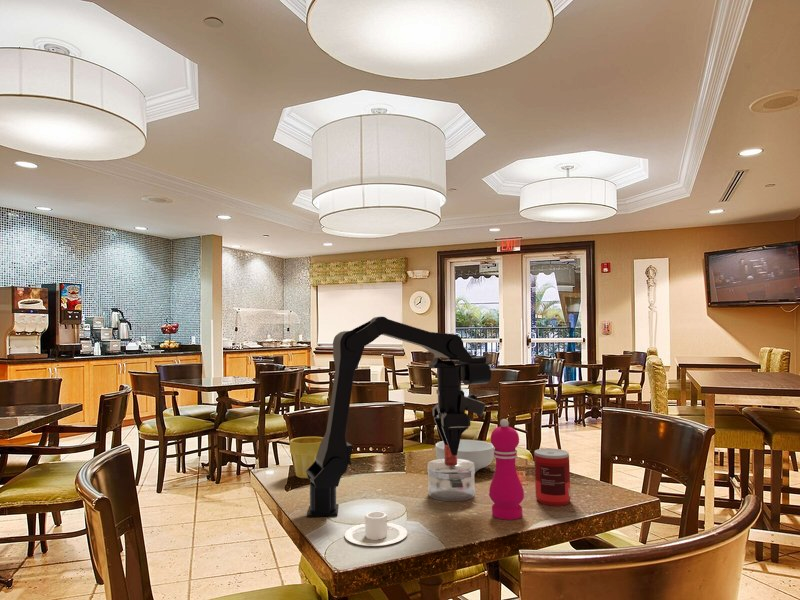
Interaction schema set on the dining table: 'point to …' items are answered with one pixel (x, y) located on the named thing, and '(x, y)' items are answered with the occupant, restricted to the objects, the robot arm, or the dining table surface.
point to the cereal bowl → (470, 452)
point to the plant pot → (304, 453)
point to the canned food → (552, 476)
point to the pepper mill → (505, 474)
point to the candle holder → (376, 529)
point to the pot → (451, 486)
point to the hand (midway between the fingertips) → (451, 451)
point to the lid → (450, 464)
